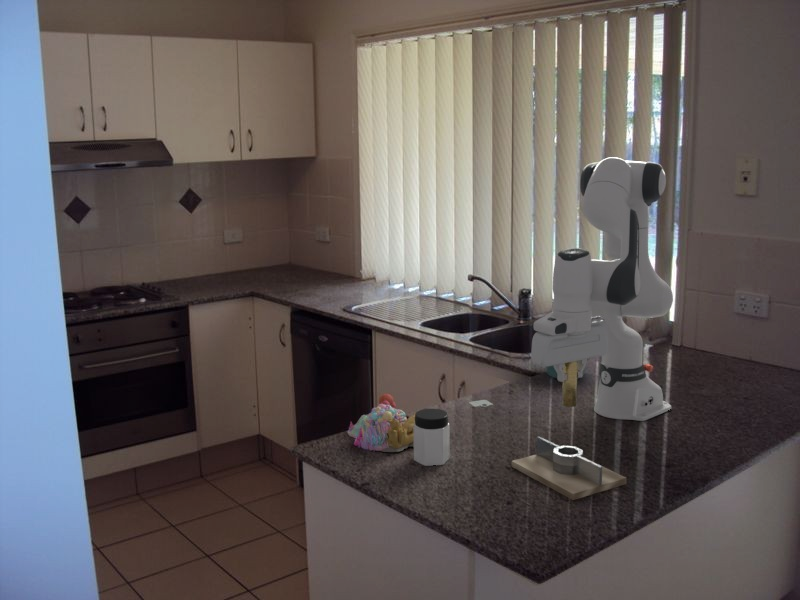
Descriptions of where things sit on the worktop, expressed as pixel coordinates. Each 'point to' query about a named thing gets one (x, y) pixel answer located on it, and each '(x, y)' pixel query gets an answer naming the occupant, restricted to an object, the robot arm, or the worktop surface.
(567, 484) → the birch board
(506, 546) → the worktop surface
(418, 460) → the jar
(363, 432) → the candy landscape model
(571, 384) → the pin
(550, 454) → the grey metal ringed bar
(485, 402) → the mounting bracket
